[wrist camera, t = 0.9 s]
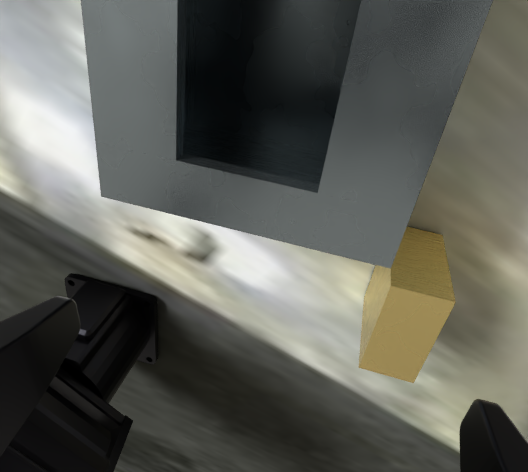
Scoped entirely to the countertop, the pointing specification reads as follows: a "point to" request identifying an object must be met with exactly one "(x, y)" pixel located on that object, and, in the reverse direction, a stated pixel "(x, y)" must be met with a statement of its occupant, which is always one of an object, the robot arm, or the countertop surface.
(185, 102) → the box
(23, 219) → the countertop surface
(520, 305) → the countertop surface
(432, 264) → the block
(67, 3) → the countertop surface
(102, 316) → the robot arm
